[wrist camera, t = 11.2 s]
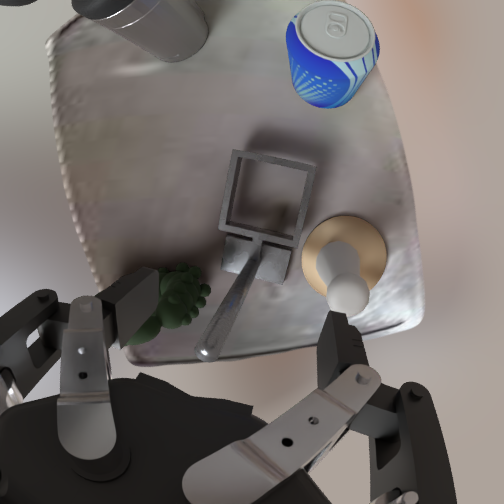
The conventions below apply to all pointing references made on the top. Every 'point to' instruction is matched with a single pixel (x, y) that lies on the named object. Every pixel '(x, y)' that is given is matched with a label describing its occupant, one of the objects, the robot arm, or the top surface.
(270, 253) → the ring stand
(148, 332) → the toy figurine
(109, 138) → the top surface
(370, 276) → the disc
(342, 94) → the beer can
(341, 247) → the salt shaker
